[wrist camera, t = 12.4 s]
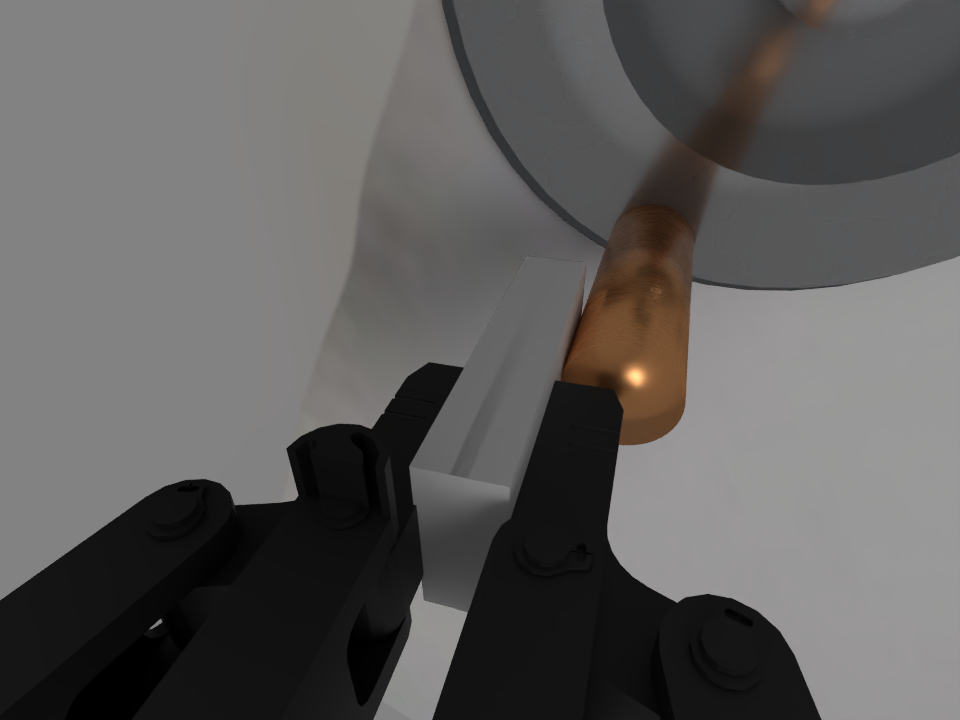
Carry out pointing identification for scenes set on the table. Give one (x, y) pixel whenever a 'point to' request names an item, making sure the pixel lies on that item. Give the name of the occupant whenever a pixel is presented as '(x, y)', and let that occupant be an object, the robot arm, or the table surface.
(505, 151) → the turntable base
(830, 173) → the cover
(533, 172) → the platter
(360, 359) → the table surface
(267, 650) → the robot arm
